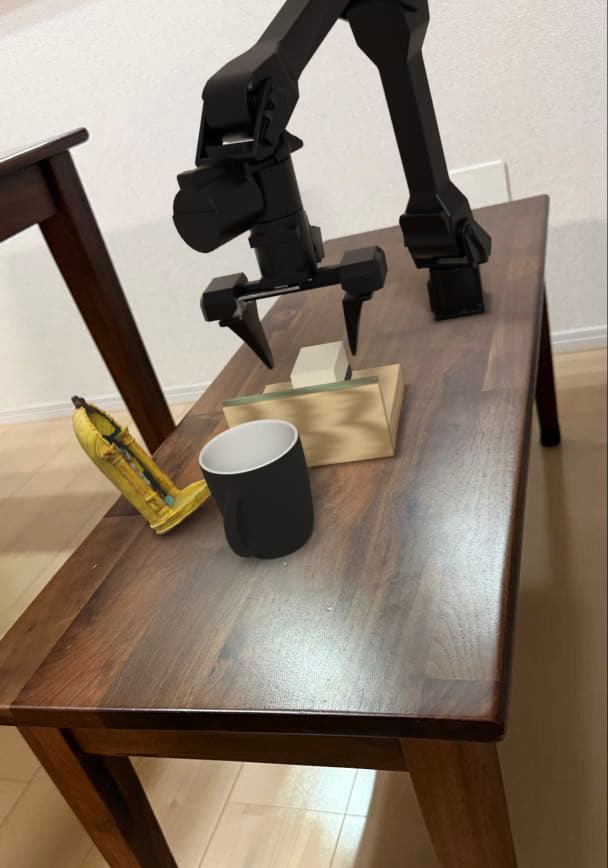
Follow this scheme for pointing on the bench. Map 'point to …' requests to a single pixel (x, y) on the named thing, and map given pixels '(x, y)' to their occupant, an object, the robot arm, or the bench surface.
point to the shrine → (134, 469)
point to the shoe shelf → (332, 414)
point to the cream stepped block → (321, 365)
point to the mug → (260, 487)
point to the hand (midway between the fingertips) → (312, 361)
